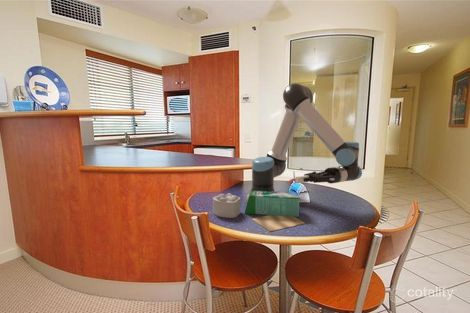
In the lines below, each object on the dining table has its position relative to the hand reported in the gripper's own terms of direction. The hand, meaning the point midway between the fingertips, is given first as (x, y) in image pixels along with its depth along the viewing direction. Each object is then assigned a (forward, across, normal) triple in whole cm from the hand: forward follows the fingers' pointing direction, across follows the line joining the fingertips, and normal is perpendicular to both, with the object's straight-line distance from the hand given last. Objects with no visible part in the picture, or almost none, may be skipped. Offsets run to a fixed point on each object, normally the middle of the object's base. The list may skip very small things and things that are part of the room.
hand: (296, 180), depth 109 cm
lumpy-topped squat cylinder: (+26, -20, +18) cm, 37 cm away
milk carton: (-4, -3, +13) cm, 14 cm away
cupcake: (-31, -37, +18) cm, 51 cm away
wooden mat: (+10, 0, +18) cm, 20 cm away
